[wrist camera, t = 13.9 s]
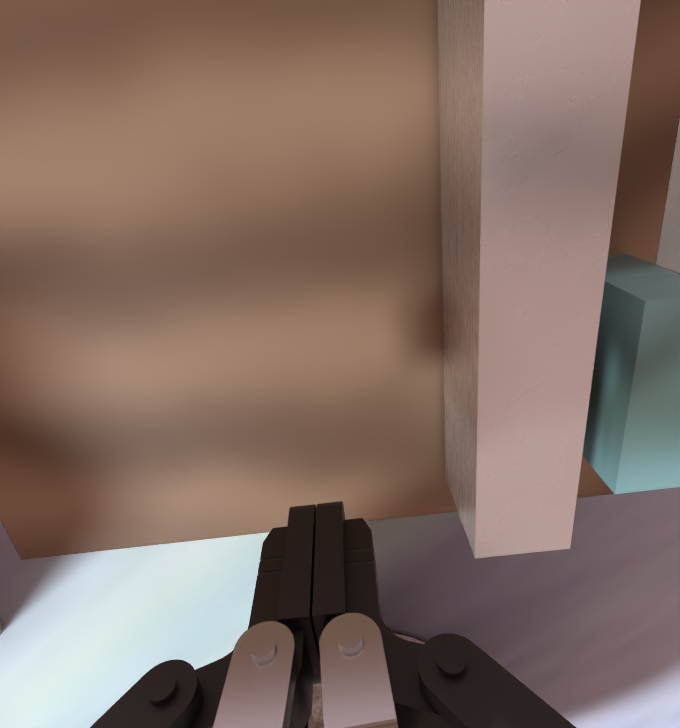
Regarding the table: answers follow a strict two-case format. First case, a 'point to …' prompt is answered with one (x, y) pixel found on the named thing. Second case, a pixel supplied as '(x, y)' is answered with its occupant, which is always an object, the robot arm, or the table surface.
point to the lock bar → (525, 250)
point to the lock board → (269, 270)
